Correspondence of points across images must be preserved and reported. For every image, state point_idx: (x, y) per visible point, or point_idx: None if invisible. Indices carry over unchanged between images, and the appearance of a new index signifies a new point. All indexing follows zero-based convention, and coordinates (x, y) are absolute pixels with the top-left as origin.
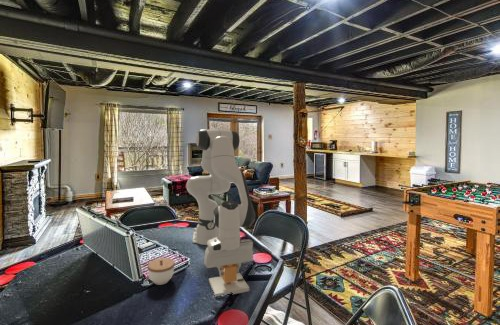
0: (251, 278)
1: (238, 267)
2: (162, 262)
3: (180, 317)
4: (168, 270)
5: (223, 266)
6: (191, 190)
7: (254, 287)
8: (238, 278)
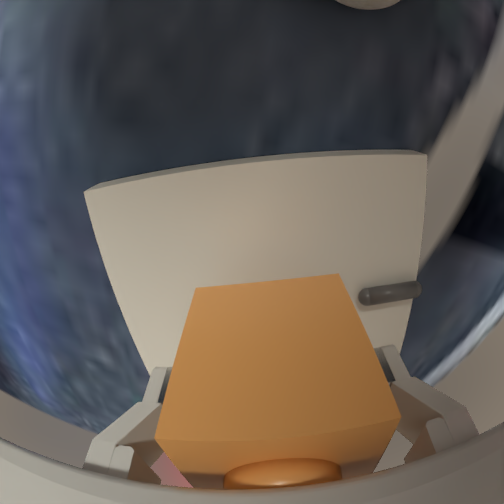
0: (472, 212)
1: (400, 432)
2: None
3: (58, 412)
4: None
5: (192, 483)
6: None
7: (433, 321)
8: (381, 251)
